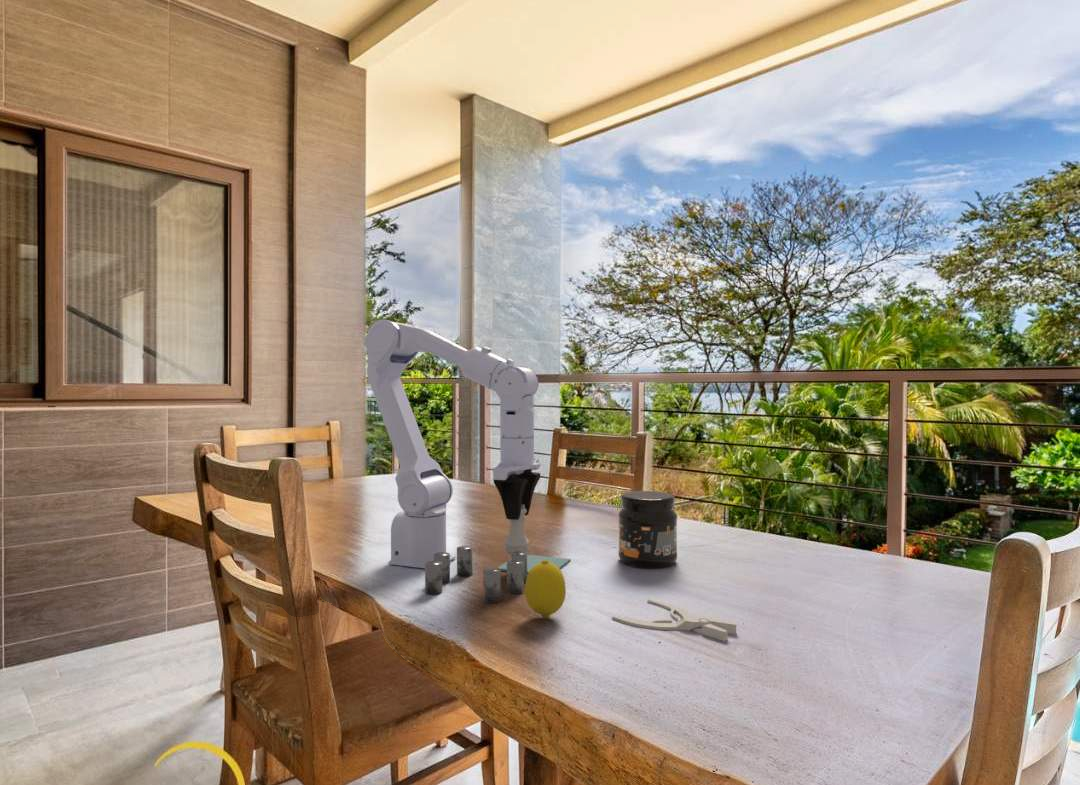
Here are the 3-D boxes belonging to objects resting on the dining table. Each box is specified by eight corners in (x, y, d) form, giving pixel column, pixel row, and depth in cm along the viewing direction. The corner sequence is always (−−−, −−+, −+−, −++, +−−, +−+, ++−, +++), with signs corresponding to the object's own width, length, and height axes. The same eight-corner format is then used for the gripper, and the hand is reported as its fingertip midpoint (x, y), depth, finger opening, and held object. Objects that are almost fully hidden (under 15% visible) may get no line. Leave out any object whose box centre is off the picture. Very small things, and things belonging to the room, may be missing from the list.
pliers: (650, 592, 95) (748, 616, 85) (650, 603, 95) (748, 628, 85) (611, 610, 87) (713, 639, 77) (611, 622, 87) (713, 652, 77)
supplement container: (608, 556, 119) (608, 492, 119) (659, 551, 122) (659, 489, 122) (634, 572, 109) (634, 501, 109) (688, 566, 112) (688, 498, 112)
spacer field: (413, 592, 99) (413, 563, 99) (454, 570, 110) (453, 544, 110) (505, 605, 93) (505, 574, 93) (538, 580, 105) (538, 552, 105)
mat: (496, 570, 110) (496, 568, 110) (519, 556, 120) (519, 553, 120) (550, 576, 107) (550, 574, 107) (570, 561, 116) (570, 559, 116)
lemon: (562, 627, 84) (561, 566, 84) (521, 624, 86) (520, 564, 86) (568, 612, 90) (568, 555, 90) (530, 609, 91) (529, 553, 91)
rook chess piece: (534, 550, 110) (535, 504, 110) (519, 557, 107) (520, 509, 106) (513, 545, 113) (514, 500, 112) (498, 552, 109) (499, 505, 109)
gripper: (521, 441, 101) (521, 527, 101) (554, 434, 114) (554, 510, 115) (481, 440, 104) (481, 524, 104) (518, 433, 117) (518, 507, 117)
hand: (517, 516), depth 109 cm, fingers closed on rook chess piece, 3 cm apart
